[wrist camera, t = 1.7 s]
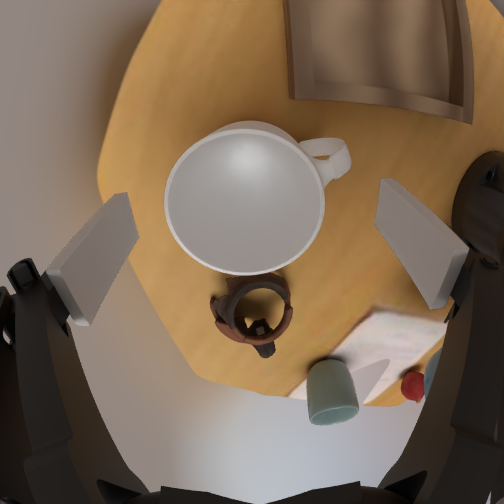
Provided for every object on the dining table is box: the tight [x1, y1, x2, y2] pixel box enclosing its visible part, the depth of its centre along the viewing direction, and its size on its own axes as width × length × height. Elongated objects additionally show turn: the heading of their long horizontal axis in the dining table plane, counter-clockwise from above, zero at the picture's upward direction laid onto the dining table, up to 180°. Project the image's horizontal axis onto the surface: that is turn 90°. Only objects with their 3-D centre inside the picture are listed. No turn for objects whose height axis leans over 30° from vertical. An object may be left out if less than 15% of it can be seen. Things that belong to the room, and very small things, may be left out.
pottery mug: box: [210, 272, 293, 358], centre depth 32 cm, size 12×10×8 cm
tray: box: [283, 0, 474, 125], centre depth 14 cm, size 18×18×4 cm
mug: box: [164, 121, 352, 275], centre depth 19 cm, size 12×9×12 cm
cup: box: [307, 359, 359, 425], centre depth 39 cm, size 8×8×10 cm
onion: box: [401, 371, 425, 403], centre depth 43 cm, size 6×6×8 cm
